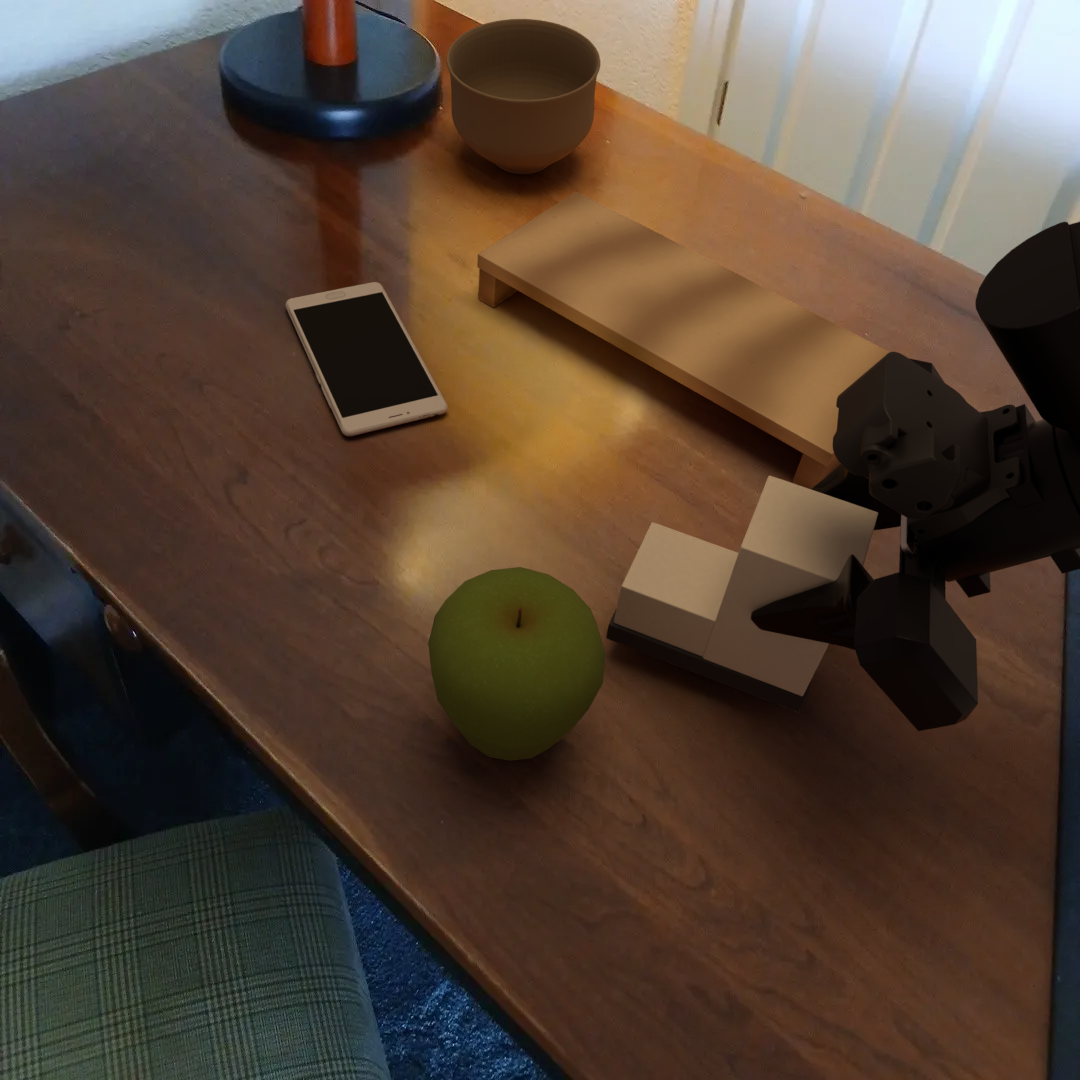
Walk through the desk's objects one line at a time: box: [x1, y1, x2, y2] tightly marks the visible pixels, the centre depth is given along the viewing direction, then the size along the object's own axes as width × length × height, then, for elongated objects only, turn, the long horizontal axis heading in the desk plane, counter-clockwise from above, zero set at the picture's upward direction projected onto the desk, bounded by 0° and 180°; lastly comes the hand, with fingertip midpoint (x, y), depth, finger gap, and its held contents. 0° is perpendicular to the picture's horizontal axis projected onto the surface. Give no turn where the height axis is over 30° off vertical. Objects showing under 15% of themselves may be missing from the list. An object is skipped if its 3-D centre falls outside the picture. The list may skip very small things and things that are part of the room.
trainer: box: [605, 475, 878, 714], centre depth 55 cm, size 11×5×11 cm, turn 67°
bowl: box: [446, 18, 601, 175], centre depth 89 cm, size 13×13×10 cm
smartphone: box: [285, 281, 449, 437], centre depth 75 cm, size 8×1×15 cm
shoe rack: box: [476, 190, 890, 489], centre depth 77 cm, size 30×12×4 cm, turn 51°
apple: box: [427, 566, 606, 762], centre depth 52 cm, size 9×8×12 cm
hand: (761, 576), depth 54 cm, fingers closed on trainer, 5 cm apart
